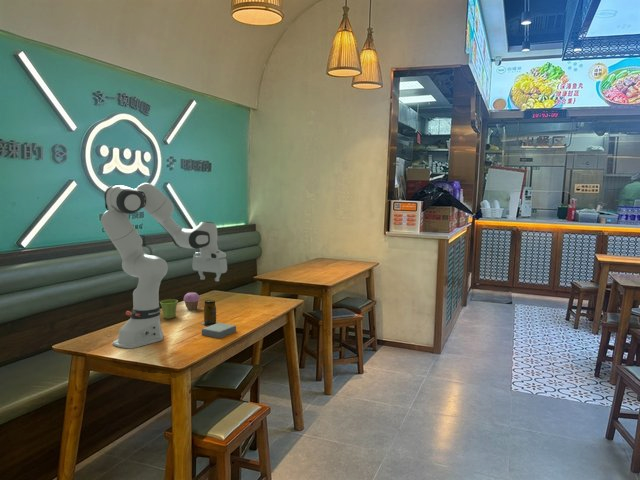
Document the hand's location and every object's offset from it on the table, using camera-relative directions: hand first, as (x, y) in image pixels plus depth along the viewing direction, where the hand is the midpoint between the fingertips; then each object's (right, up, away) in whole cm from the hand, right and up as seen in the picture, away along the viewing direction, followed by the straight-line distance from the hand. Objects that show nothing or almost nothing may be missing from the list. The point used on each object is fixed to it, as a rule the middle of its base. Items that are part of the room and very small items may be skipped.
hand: (209, 280), depth 236 cm
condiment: (0, -23, +2) cm, 23 cm away
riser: (+8, -24, -13) cm, 28 cm away
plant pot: (-25, -21, +15) cm, 36 cm away
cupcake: (-18, -20, +31) cm, 41 cm away
